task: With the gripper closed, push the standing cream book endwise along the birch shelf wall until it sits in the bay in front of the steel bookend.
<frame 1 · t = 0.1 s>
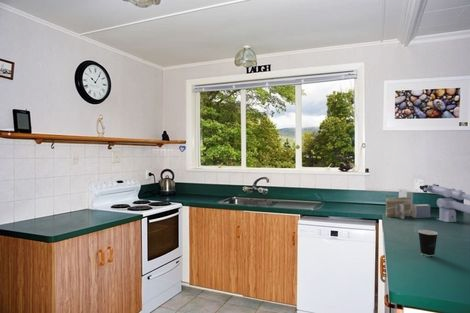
hand: (424, 187, 237), 22 cm above the countertop, tool horizontal, fingers open, 7 cm apart
dixie cup: (427, 255, 143), on the countertop
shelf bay: (398, 216, 233), on the countertop
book: (420, 217, 231), on the countertop
skincare box: (405, 209, 264), on the countertop
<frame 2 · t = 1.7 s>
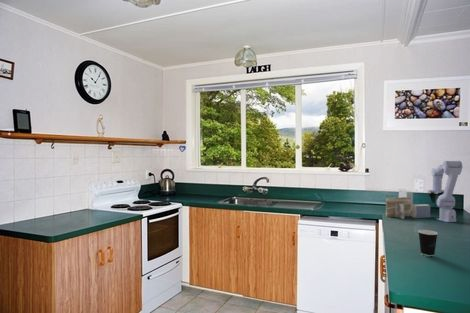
hand: (436, 202, 233), 10 cm above the countertop, tool pointing down, fingers open, 6 cm apart
nothing on the countertop moved.
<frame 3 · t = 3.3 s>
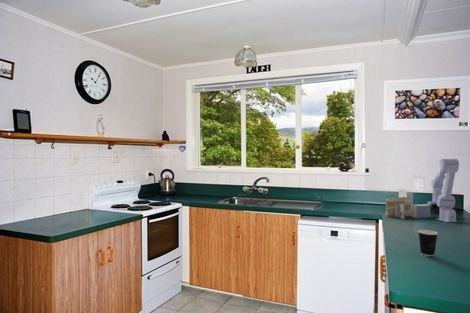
hand: (436, 213, 233), 2 cm above the countertop, tool pointing down, fingers closed
nothing on the countertop moved.
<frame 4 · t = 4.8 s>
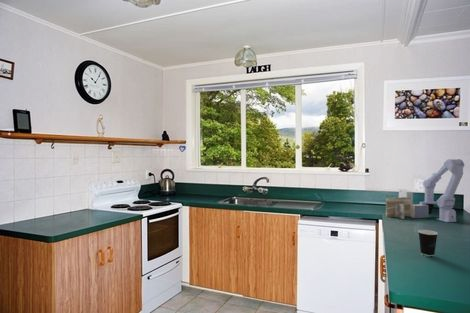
hand: (429, 214, 232), 2 cm above the countertop, tool pointing down, fingers closed
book: (419, 217, 230), on the countertop, touching gripper
everything else where it was.
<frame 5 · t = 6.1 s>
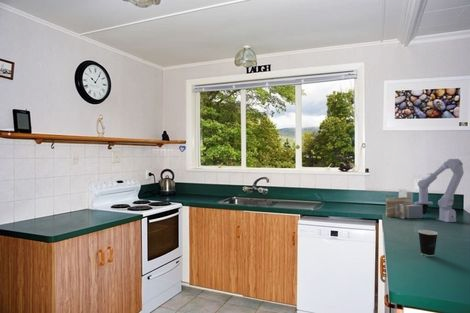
hand: (423, 214, 231), 2 cm above the countertop, tool pointing down, fingers closed
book: (413, 217, 229), on the countertop, touching gripper
everything else where it was.
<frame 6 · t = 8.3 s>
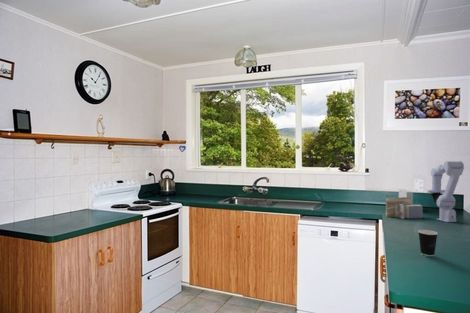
hand: (436, 202, 233), 10 cm above the countertop, tool pointing down, fingers closed
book: (413, 217, 229), on the countertop
everything else where it was.
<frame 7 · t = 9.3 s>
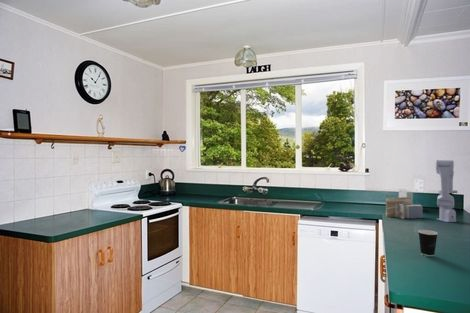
hand: (447, 203, 231), 10 cm above the countertop, tool pointing down, fingers closed
nothing on the countertop moved.
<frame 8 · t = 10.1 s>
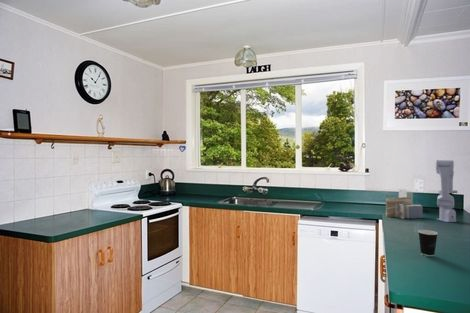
hand: (447, 203, 231), 10 cm above the countertop, tool pointing down, fingers closed
nothing on the countertop moved.
at the end: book inside the target area (1.6 cm from its centre), on the countertop; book tilted 0° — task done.
